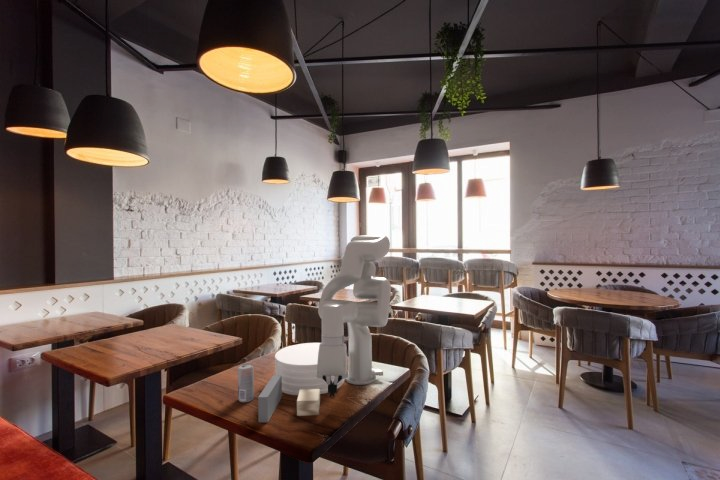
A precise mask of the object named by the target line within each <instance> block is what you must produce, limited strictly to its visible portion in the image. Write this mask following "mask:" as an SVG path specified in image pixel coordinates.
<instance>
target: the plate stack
mask: <svg viewBox="0 0 720 480" xmlns="http://www.w3.org/2000/svg"><path fill="white" fill-rule="evenodd" d="M320 343H321V342H305V343H304V342H303V343H298V344H293V345H289V346H286V347H283V348H281V349H280V350H278V351H277V352H275V354H274V365H275V367H274V375H282V393H284V394H287V395H290V396H291V395H292V396H298V395H299V391H300V389H320V395H323V394H326V393H327V394H328V384H327V383H326V382H325V381H324V380H323V379H321V378H317V362H318V351H319V345H320ZM334 379H335V376H331V380H332V382H333V381H334ZM345 382H346V380H345V379H341V380H340V381H339V382H338V383H337V389H339V388H340V387H341V386H343V384H344V383H345Z"/></svg>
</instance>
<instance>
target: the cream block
mask: <svg viewBox="0 0 720 480" xmlns="http://www.w3.org/2000/svg"><path fill="white" fill-rule="evenodd" d="M320 404H321V394H320V389H300V391H299V395H297V399H296V416H299V417H301V416H303V417H304V416H319V415H320Z"/></svg>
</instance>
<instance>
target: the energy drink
mask: <svg viewBox="0 0 720 480" xmlns="http://www.w3.org/2000/svg"><path fill="white" fill-rule="evenodd" d="M254 374H255V372H254V366H253V364H251V363H243V364H241V365H238V369H237V389H238V391H237V393H238V395H237V396H238V397H237V398H238V401H239V402H240V403H248V402H251V401H253V399H254V398H255V387H254V386H255V384H254V379H255V378H254V376H255V375H254Z"/></svg>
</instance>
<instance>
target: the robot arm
mask: <svg viewBox="0 0 720 480" xmlns="http://www.w3.org/2000/svg"><path fill="white" fill-rule="evenodd" d="M390 246H391V243H390V238H389V237H388V236H386V235H385V234H371V235H370V234H369V235H367V234H364V235H362V234H361V235H355V236H352V238H350V241H349V242H348V243H347V244H346V247H345V251H344V253H343V257H342V262H341V264H340V269H339V272H338V274H337V275H335V276H333V278H331V280H329V282H328V283H327V284H325V286H324V287H323V290H322V293H321V294H320V295H321V296H320V299H319V302H318V308H317V311H318V312H317V314H318V316H319V317H320V319H321V342H319V343H320V345H319V351H318V362H317V378H321V379H323V380H324V381H325V382H326V383H327V384H328V392H327V394H329V397H330V398H332V397H333V398H335V396H336V394H338V388H337V383H338V382H339V381H340V380H341V379H345V382H347V383H349V384H351V385H356V386H362V385H365V386H366V385H369V384H372V383H374V382H375V381H376V380H377V376H384V370H381V369H380V368H373V367H374V365H373V354H372V353H373V352H372V351H373V349H372V348H373V345H372V344H373V343H372V334H371V332H370V329H369V328H368V327H372V328H373V327H375V328H384V327H385V326H386V325H387V323H388V321H389V314H390V304H391V295H392V286H391V282H390V280H389V279H387V278H386V277H379V276H378V277H377V276H376V270H377V267H376V264H375V262H380V261H381V260H382V259H383V258H384V257H385V256H387V254H388V253H389V252H390V248H391V247H390ZM350 286H353V289H352V295H353V297H355V298H356V299H358V300H366V301H352V300H345V299H343V300H341V299H333V298H334V296H335V295H336V294H337V293H338V292H339V291H341V290H343V289H345V288H347V287H350ZM368 301H370V302H368ZM371 301H377V302H371ZM345 323H346V324H347V333H348V336H345V335H344V334H345V333H344V332H345V330H344V329H345V327H344V325H345ZM345 342H348V348H347V344H346V343H345ZM331 376H335V379H334V381H333V382H332V380H331Z"/></svg>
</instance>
